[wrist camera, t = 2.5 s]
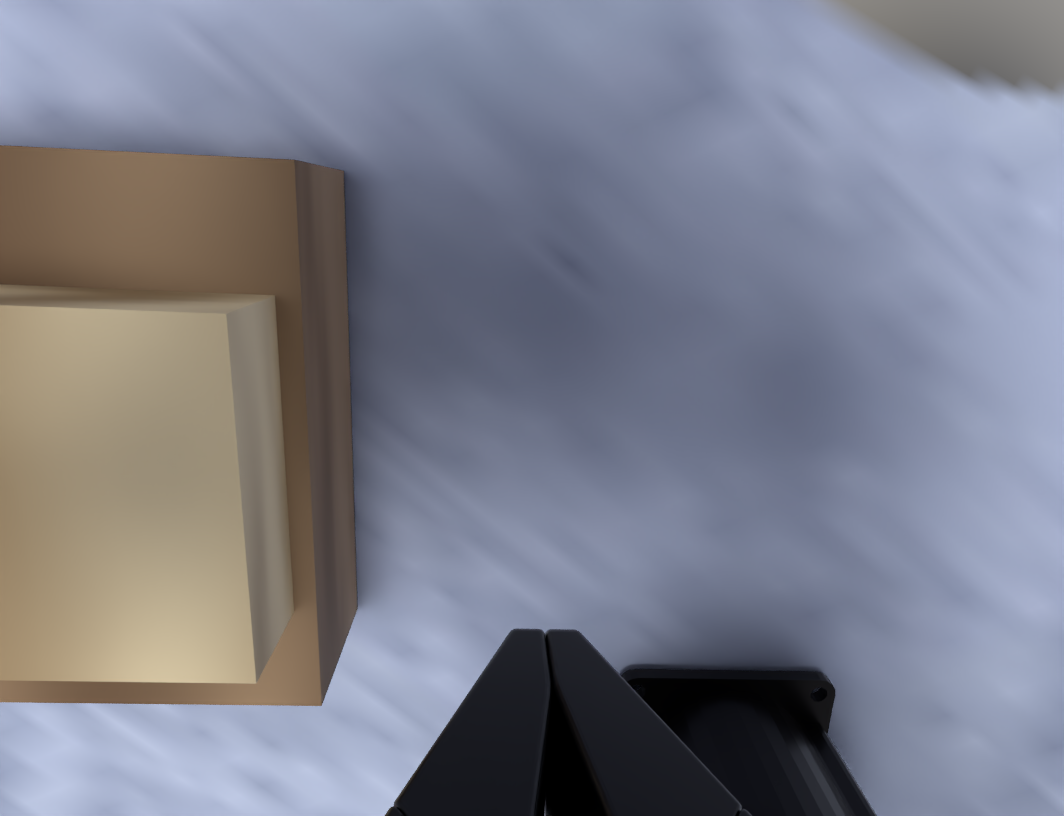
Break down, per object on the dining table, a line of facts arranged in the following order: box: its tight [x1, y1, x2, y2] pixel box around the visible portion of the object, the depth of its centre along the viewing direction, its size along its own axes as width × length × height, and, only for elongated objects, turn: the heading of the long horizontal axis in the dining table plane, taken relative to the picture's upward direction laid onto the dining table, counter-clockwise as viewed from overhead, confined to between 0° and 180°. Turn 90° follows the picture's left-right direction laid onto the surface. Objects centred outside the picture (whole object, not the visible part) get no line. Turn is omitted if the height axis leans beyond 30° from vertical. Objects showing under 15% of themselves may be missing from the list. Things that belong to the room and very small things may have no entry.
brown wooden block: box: [0, 145, 357, 706], centre depth 16 cm, size 10×12×4 cm
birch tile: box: [0, 284, 294, 684], centre depth 13 cm, size 8×7×2 cm
